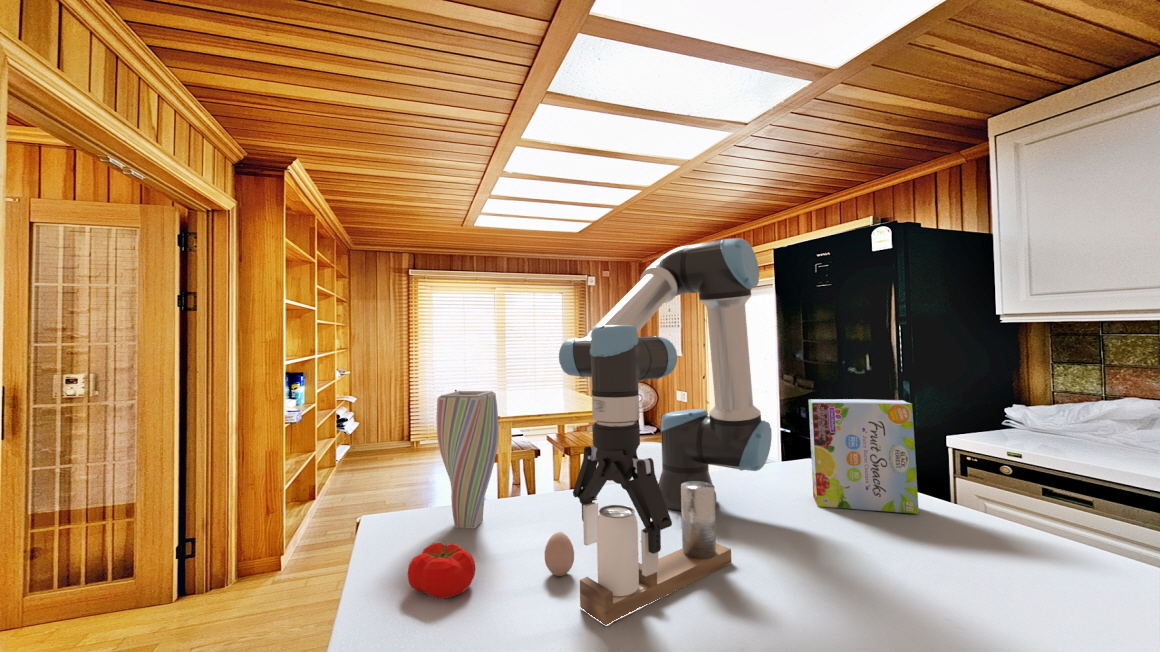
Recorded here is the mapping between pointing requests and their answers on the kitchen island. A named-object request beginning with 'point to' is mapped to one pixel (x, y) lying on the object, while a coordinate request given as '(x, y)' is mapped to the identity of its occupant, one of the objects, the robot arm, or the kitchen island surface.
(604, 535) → the can
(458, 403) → the vase
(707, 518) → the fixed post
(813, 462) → the snack box
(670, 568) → the rail
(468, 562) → the tomato
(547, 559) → the egg
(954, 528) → the kitchen island surface
